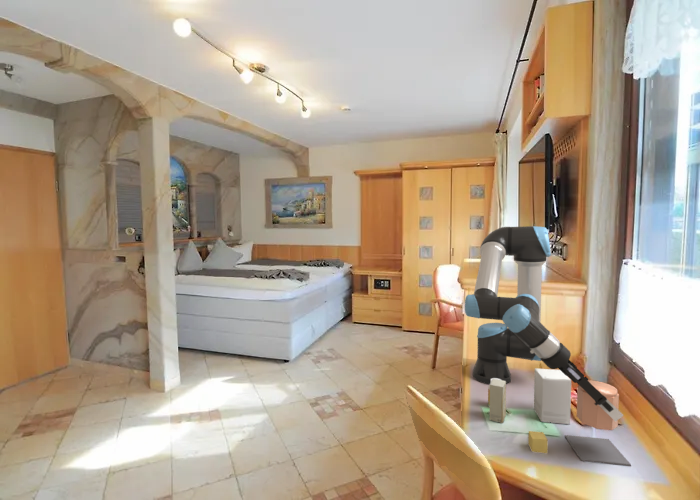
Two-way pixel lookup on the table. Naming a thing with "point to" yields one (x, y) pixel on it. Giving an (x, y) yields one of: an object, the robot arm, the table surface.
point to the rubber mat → (596, 450)
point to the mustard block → (538, 442)
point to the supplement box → (552, 396)
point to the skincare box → (497, 400)
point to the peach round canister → (593, 413)
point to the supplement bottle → (489, 391)
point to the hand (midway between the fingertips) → (609, 409)
